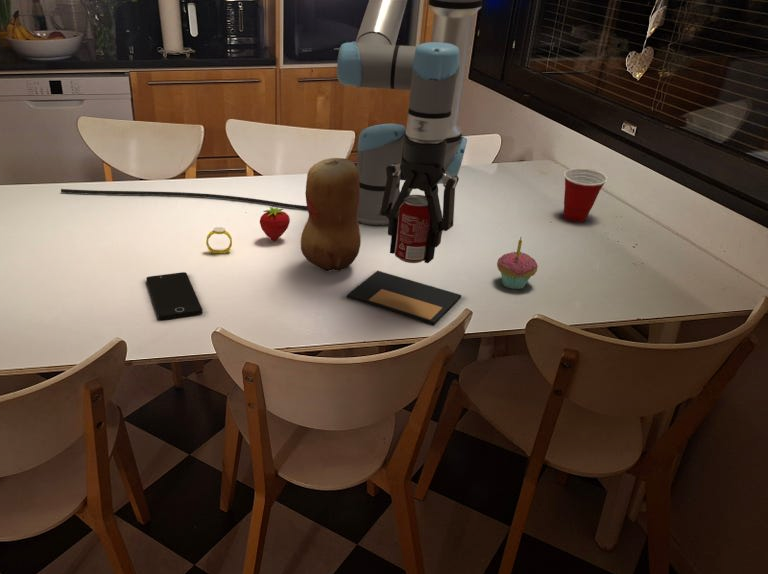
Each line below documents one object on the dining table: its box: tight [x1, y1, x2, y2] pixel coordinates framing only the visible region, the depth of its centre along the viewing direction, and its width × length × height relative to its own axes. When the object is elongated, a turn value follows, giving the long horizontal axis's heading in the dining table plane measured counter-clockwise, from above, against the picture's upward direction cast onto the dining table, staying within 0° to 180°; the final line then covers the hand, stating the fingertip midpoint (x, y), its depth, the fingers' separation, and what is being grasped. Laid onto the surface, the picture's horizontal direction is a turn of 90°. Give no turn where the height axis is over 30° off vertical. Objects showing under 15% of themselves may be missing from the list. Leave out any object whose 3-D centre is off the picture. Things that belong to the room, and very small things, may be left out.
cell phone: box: [146, 271, 203, 320], centre depth 144 cm, size 9×18×1 cm, turn 18°
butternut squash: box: [300, 157, 362, 272], centre depth 149 cm, size 14×13×25 cm
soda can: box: [394, 194, 433, 264], centre depth 132 cm, size 7×7×12 cm
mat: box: [346, 270, 462, 326], centre depth 145 cm, size 20×14×1 cm
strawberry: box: [259, 204, 291, 242], centre depth 166 cm, size 6×8×10 cm
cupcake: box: [496, 236, 539, 290], centre depth 148 cm, size 9×8×12 cm
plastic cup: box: [563, 167, 609, 223], centre depth 181 cm, size 11×11×12 cm
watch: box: [205, 226, 233, 254], centre depth 161 cm, size 6×3×6 cm, turn 96°
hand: (411, 255), depth 135 cm, fingers closed on soda can, 7 cm apart
